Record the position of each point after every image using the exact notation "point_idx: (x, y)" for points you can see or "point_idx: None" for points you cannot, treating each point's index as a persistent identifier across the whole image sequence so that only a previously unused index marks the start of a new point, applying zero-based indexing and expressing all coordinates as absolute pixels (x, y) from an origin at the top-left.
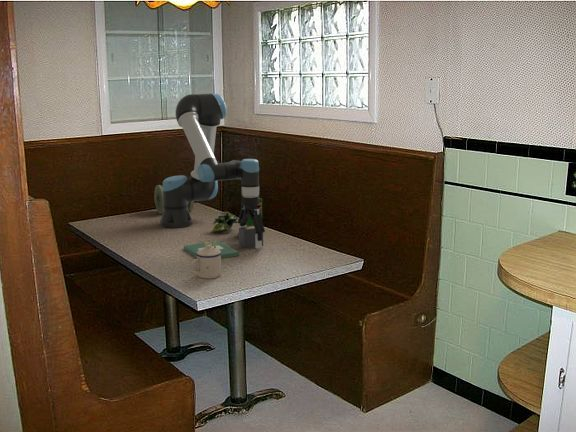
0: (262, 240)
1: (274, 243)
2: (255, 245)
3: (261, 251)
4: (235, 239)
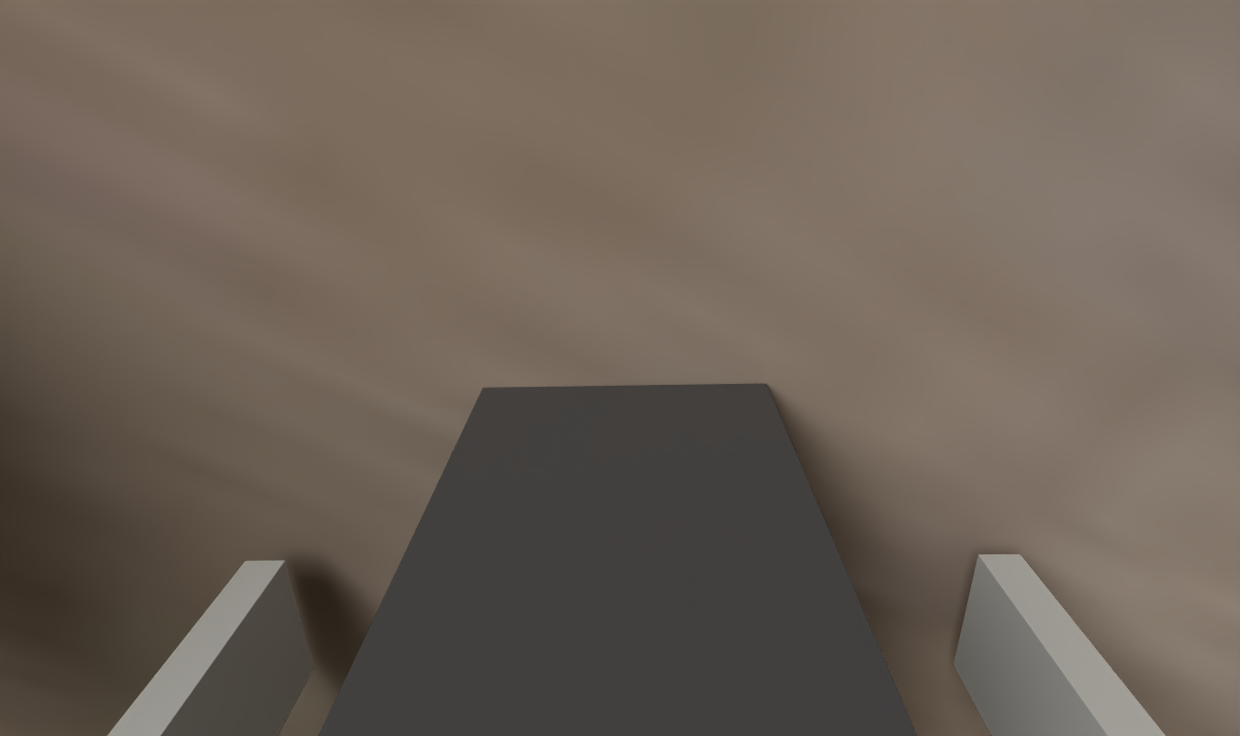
0: (790, 466)
1: (767, 12)
2: (982, 713)
3: (1120, 596)
4: (48, 641)
